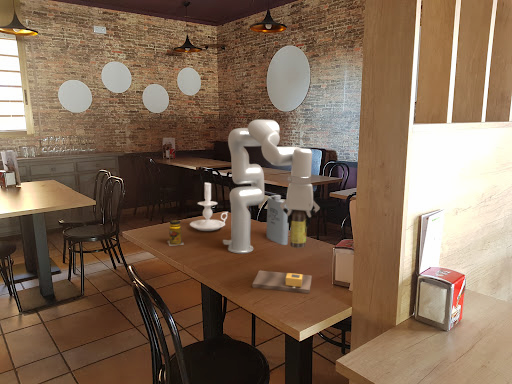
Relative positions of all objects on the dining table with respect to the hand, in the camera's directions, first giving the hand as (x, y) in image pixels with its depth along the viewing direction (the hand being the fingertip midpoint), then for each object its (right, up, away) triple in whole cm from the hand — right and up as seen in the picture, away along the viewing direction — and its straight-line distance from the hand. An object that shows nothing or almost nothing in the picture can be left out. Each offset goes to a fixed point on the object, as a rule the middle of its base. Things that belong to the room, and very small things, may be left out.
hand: (298, 225), depth 154 cm
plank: (-6, -23, +2) cm, 24 cm away
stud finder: (-2, -22, -2) cm, 23 cm away
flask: (-6, -13, +58) cm, 59 cm away
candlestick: (-44, -9, +77) cm, 89 cm away
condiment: (-59, -14, +49) cm, 78 cm away
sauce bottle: (0, -9, +2) cm, 9 cm away
